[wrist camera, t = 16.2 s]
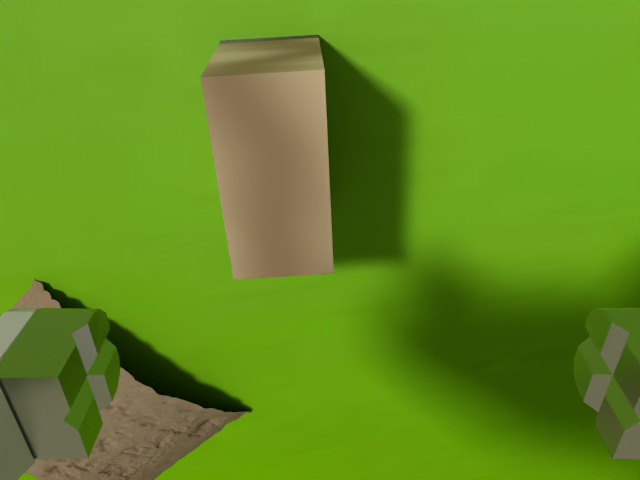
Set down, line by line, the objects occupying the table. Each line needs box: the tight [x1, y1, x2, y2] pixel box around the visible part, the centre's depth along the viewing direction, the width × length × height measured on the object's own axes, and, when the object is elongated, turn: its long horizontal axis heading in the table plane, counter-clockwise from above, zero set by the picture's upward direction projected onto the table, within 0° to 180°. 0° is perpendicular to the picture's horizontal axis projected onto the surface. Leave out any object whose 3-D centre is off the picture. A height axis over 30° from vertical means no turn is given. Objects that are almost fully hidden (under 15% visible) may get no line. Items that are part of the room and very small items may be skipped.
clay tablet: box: [12, 279, 250, 480], centre depth 28 cm, size 14×10×3 cm
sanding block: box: [201, 35, 334, 279], centre depth 19 cm, size 4×7×5 cm, turn 3°
